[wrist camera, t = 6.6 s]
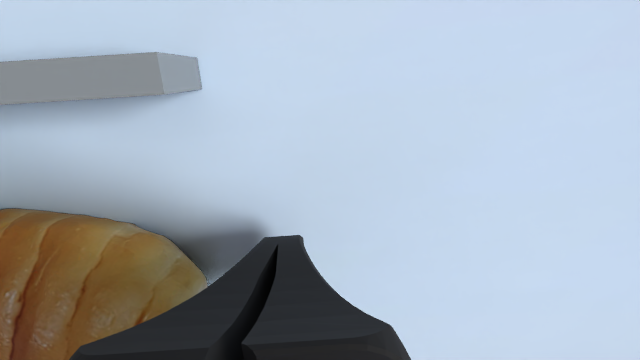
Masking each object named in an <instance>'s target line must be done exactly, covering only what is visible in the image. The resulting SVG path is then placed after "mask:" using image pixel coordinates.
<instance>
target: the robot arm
mask: <svg viewBox="0 0 640 360" xmlns="http://www.w3.org/2000/svg"><path fill="white" fill-rule="evenodd" d="M69 360H411V359H410V357H409V355H408V353H407V351H406V349H405V347H404V346H403V344H402V342H401V340H400V339H399V337H398V335H397V334H396V332H395V331H394V329H393V328H392V326H391V325H389V324H387V323H385V322H383V321H381V320H379V319H376V318H374V317H372V316H370V315H368V314H366V313H364V312H363V311H361V310H359V309H358V308H356V307H354V306H353V305H351V304H350V303H349V302H348V301H346V300H345V299H344V298H342V297H341V296H340V295H339V294H338V293H337V292H336V291H335V290H334V289H333V288H332V287H331V286H330V285H329V284H328V283H327V282H326V281H325V280H324V278H323V277H322V276H321V275H320V273H319V272H318V270H317V269H316V268H315V266H314V265H313V263H312V261H311V259H310V258H309V256H308V254H307V252H306V249H305V247H304V243H303V237H301V236H300V235H293V236H278V237H265V238H264V239H262V240H261V241H260V242H259V243H258V244H257V245H256V246H255V247H254V248H253V249H252V250H251V251H250V252H249V253H248V254H247V255H246V256H245V257H244V258H243V259H242V260H241V261H240V262H238V263H237V264H236V265H235V266H234V267H233V268H231V269H230V270H229V271H228V272H227V273H225V274H224V275H223V276H222V277H221V278H219V279H218V280H217V281H215V282H214V283H213V284H211V285H210V286H208V287H207V288H205V289H204V290H202V291H201V292H199V293H198V294H196V295H195V296H193V297H191V298H190V299H188V300H186V301H184V302H182V303H181V304H179V305H177V306H175V307H173V308H172V309H170V310H168V311H166V312H164V313H162V314H160V315H158V316H156V317H154V318H152V319H150V320H147V321H145V322H143V323H140V324H138V325H136V326H134V327H131V328H129V329H126V330H124V331H121V332H118V333H116V334H113V335H110V336H107V337H105V338H102V339H99V340H96V341H94V342H91V343H88V344H85V345H82V346H80V347H79V348H78V349H77V350H76V352H75V353H74V354H73V355H72V356H71V357H70V359H69Z"/></svg>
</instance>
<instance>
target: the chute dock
mask: <svg viewBox="0 0 640 360" xmlns="http://www.w3.org/2000/svg"><path fill="white" fill-rule="evenodd" d="M200 89H202V86H201V79H200V73H199V67H198V61H197V58H196V57H188V56H181V55H174V54H166V53H159V52H152V53H136V54H120V55H104V56H88V57H72V58H56V59H40V60H24V61H8V62H0V105H6V104H22V103H38V102H54V101H70V100H86V99H102V98H117V97H133V96H149V95H165V94H172V93H179V92H186V91H193V90H200Z"/></svg>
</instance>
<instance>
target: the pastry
mask: <svg viewBox="0 0 640 360" xmlns="http://www.w3.org/2000/svg"><path fill="white" fill-rule="evenodd" d="M207 287H208V285H207V281H206V277H205V276H204V274H203V273H202V272H201V271H200V269H199V268H198V267H197V266H196V265H195V264H194V263H193V262H192V261H191V260H190V259H189V258H188V257H187V256H186V255H185V254H184V253H183V252H182V251H181V250H180V249H179V248H178V247H177V246H176V245H175V244H174V243H173V242H172V241H170V240H169V239H168V238H166V237H165V236H163V235H158V234H155V233H152V232H149V231H146V230H144V229H141V228H139V227H137V226H136V225H135V224H132V223H126V222H118V221H114V220H111V219H106V218H96V217H92V216H87V215H74V214H66V213H56V212H50V211H40V210H27V209H16V208H15V209H2V210H0V360H69V359H70V357H71V356H72V355H73V354H74V353H75V352H76V350H77V349H78V348H79V347H80V346H82V345H85V344H88V343H91V342H94V341H96V340H99V339H102V338H105V337H107V336H110V335H113V334H116V333H118V332H121V331H124V330H126V329H129V328H131V327H134V326H136V325H138V324H140V323H143V322H145V321H147V320H150V319H152V318H154V317H156V316H158V315H160V314H162V313H164V312H166V311H168V310H170V309H172V308H173V307H175V306H177V305H179V304H181V303H182V302H184V301H186V300H188V299H190V298H191V297H193V296H195V295H196V294H198V293H199V292H201V291H202V290H204V289H205V288H207Z"/></svg>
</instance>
